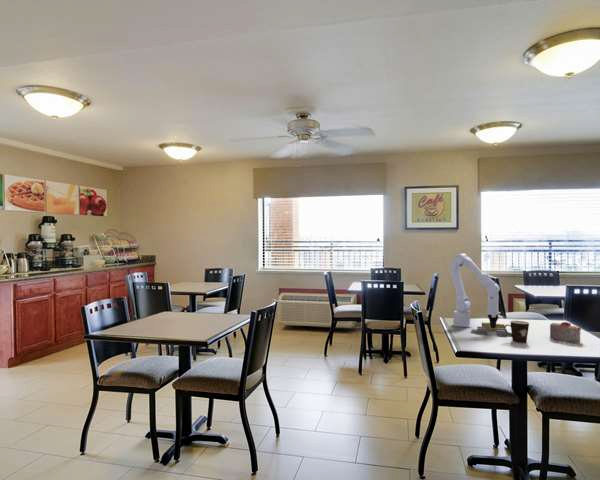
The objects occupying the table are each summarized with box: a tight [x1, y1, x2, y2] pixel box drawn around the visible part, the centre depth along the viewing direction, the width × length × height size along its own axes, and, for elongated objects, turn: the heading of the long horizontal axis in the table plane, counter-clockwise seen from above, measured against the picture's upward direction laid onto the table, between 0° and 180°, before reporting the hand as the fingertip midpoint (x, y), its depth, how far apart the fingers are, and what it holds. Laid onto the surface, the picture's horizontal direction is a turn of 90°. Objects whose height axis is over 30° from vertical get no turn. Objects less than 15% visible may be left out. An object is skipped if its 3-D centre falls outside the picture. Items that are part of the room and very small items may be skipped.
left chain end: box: [471, 326, 488, 336], centre depth 227 cm, size 8×6×3 cm
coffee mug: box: [504, 320, 530, 344], centre depth 210 cm, size 12×9×10 cm
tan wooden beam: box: [481, 321, 506, 332], centre depth 235 cm, size 12×2×4 cm, turn 67°
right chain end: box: [495, 328, 512, 337], centre depth 222 cm, size 8×6×3 cm
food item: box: [549, 321, 582, 344], centre depth 211 cm, size 14×8×10 cm, turn 42°
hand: (492, 327), depth 235 cm, fingers closed on tan wooden beam, 2 cm apart
